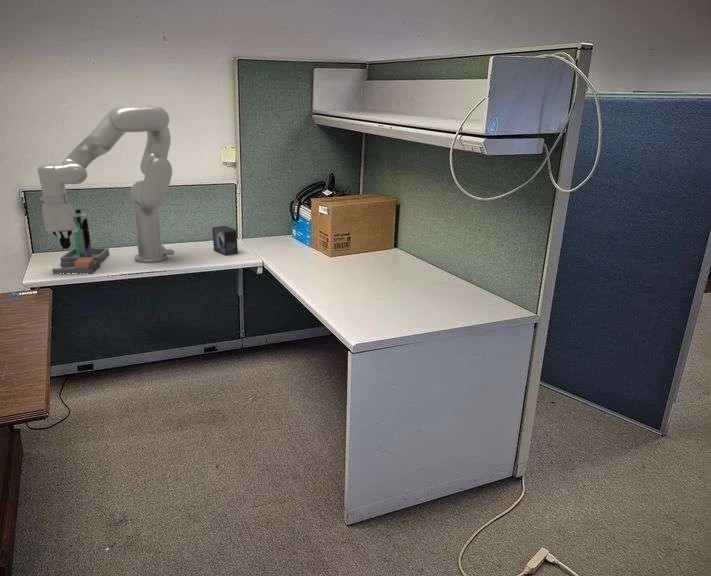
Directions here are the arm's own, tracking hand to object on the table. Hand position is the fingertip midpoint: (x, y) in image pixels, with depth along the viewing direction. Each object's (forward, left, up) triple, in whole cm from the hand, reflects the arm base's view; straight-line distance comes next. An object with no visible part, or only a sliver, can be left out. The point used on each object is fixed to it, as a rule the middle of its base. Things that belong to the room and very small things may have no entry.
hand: (66, 247), depth 206 cm
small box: (-56, -23, -9) cm, 61 cm away
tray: (-2, -13, -9) cm, 16 cm away
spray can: (-2, -13, -8) cm, 16 cm away
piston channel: (-3, +1, -9) cm, 9 cm away
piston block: (-6, +1, -9) cm, 11 cm away
